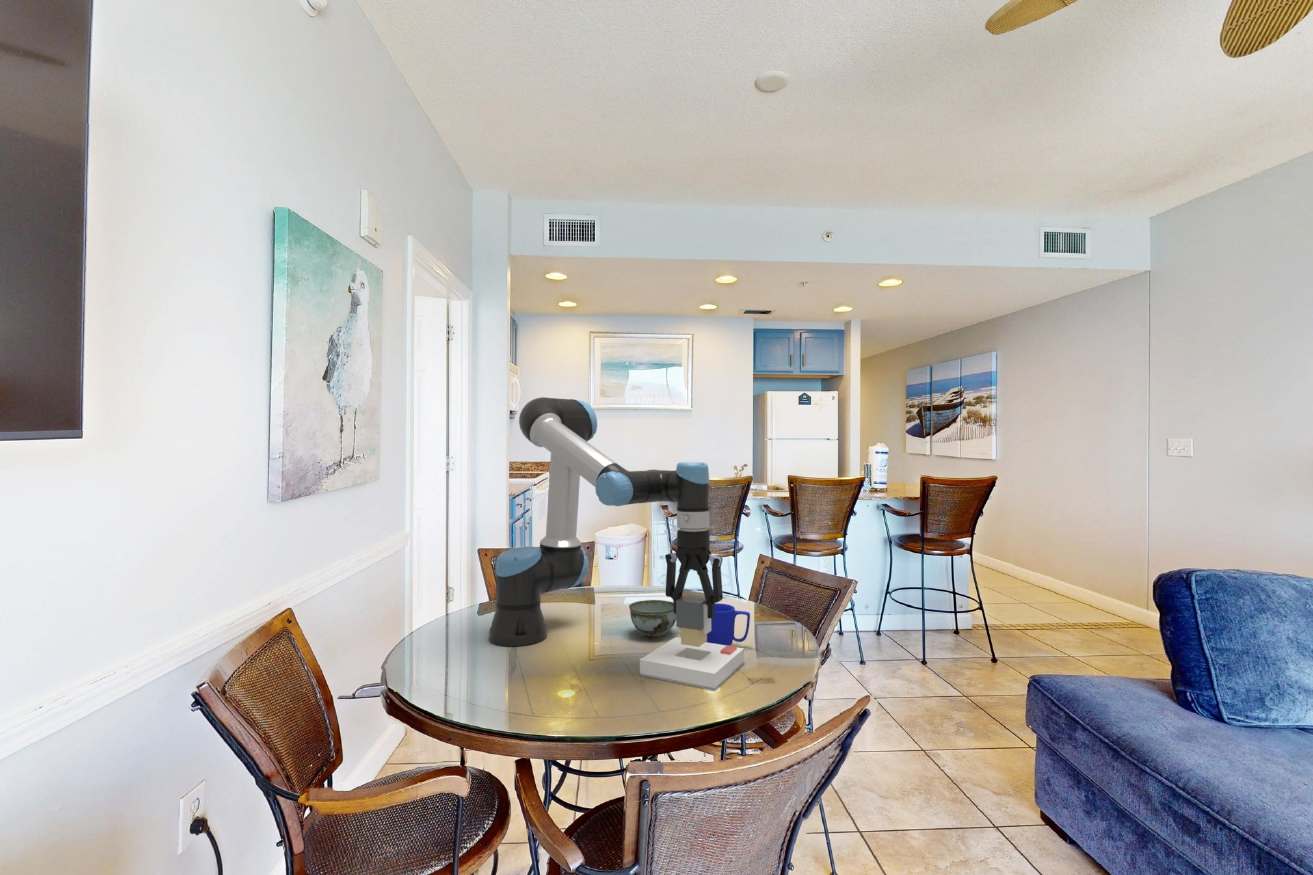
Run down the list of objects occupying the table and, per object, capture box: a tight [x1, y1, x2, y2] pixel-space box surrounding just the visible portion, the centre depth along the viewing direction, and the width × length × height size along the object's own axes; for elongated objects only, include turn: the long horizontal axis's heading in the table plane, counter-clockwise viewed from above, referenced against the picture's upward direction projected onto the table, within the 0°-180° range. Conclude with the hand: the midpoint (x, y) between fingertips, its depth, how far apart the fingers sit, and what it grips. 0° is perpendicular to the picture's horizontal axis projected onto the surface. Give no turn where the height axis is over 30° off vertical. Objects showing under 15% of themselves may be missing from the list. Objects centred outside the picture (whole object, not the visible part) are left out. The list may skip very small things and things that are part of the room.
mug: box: [707, 602, 751, 646], centre depth 154 cm, size 8×12×10 cm
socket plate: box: [639, 637, 745, 691], centre depth 138 cm, size 18×18×4 cm
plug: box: [675, 594, 707, 647], centre depth 138 cm, size 6×6×10 cm
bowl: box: [628, 599, 676, 639], centre depth 164 cm, size 14×13×8 cm
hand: (694, 629), depth 138 cm, fingers closed on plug, 6 cm apart
